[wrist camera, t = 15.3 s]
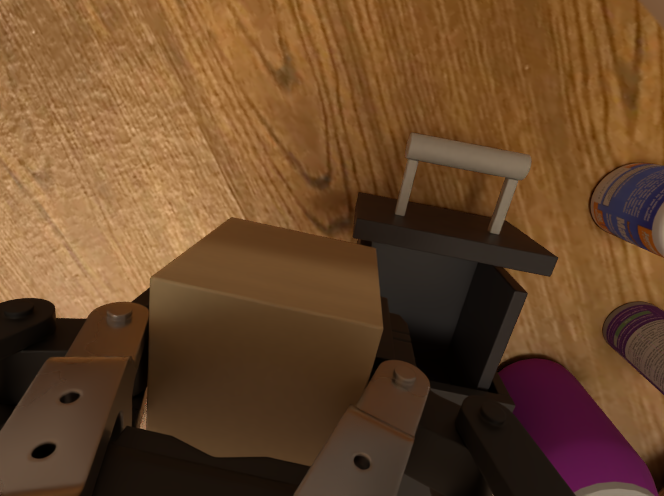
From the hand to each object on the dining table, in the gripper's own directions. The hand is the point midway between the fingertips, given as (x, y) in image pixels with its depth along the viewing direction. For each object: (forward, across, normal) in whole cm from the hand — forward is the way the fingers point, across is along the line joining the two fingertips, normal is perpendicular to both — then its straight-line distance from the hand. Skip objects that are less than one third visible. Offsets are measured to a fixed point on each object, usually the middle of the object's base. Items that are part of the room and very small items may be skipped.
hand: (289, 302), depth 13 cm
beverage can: (+18, -21, +13) cm, 30 cm away
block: (0, 0, 0) cm, 0 cm away
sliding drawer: (+16, -8, +3) cm, 18 cm away
